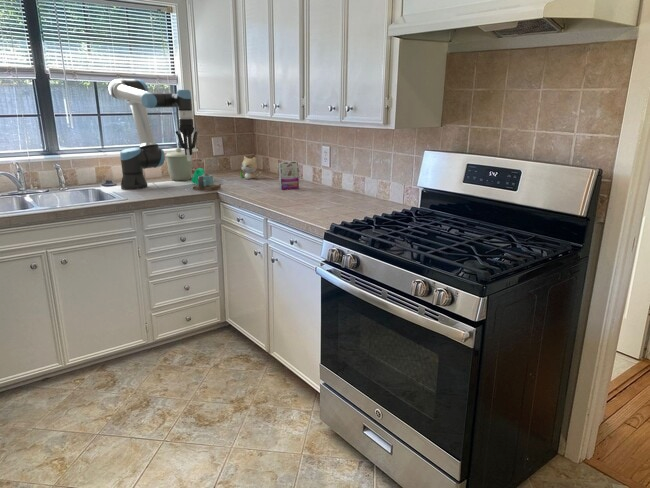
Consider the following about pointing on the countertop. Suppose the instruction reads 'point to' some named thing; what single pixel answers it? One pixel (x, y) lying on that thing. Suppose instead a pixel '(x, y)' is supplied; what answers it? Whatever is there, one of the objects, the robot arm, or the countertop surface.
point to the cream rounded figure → (249, 168)
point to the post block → (208, 188)
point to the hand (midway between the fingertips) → (189, 160)
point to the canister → (179, 165)
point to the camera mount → (197, 173)
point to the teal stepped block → (205, 180)
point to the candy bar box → (288, 175)
